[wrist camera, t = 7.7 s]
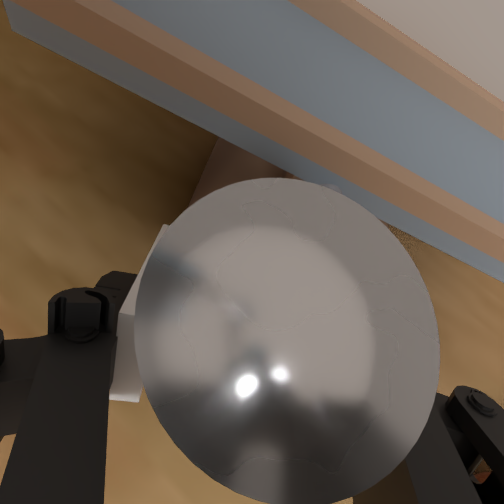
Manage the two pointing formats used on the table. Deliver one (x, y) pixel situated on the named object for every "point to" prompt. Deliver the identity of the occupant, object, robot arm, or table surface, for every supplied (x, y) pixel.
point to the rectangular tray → (309, 101)
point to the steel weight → (287, 342)
